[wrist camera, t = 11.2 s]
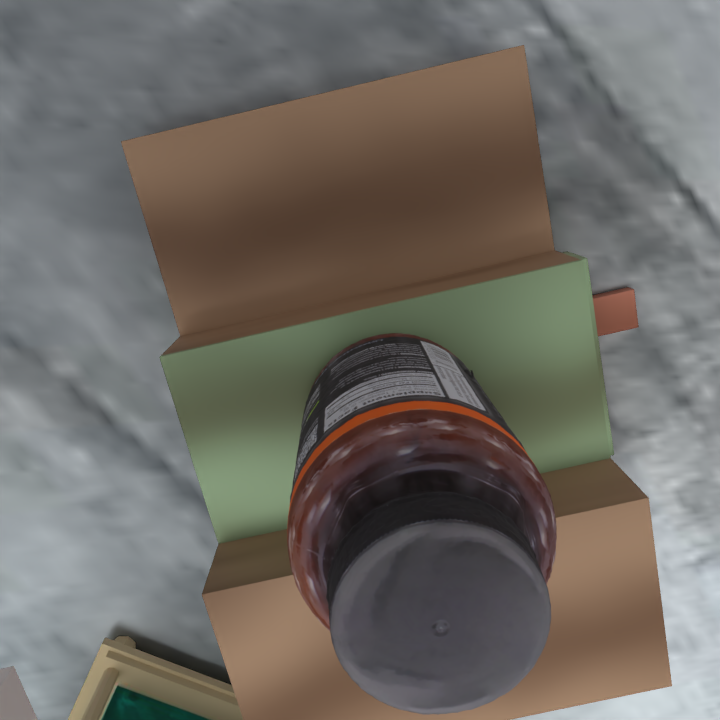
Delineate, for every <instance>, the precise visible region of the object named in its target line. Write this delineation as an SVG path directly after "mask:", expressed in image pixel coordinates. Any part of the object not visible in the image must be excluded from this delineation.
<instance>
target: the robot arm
mask: <svg viewBox="0 0 720 720" xmlns="http://www.w3.org/2000/svg"><path fill="white" fill-rule="evenodd" d="M0 720H37V717H36V715H35V713H34V711H33V708H32V706H31V704H30V702H29V699H28V697H27V695H26V693H25V690H24V688H23V686H22V684H21V681H20V679H19V677H18V675H17V672H16V670H15V668H14V666H11V667H7V668H2V669H0Z"/></svg>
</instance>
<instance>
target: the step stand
mask: <svg viewBox="0 0 720 720" xmlns="http://www.w3.org/2000/svg"><path fill="white" fill-rule="evenodd" d="M121 143H122V147H123V150H124V153H125V157H126V160H127V163H128V166H129V170H130V173H131V176H132V179H133V183H134V186H135V189H136V192H137V196H138V199H139V202H140V206H141V209H142V212H143V215H144V219H145V222H146V225H147V228H148V232H149V235H150V238H151V242H152V245H153V248H154V251H155V255H156V258H157V261H158V264H159V268H160V271H161V274H162V278H163V281H164V284H165V287H166V291H167V294H168V297H169V300H170V304H171V307H172V310H173V314H174V317H175V320H176V323H177V327H178V330H179V333H180V337H179V338H178V339H177V340H176V341H175V342H174V343H173V344H172V345H171V346H170V347H169V348H168V349H167V350H166V351H165V352H164V353H163V354H162V355H161V356H160V361H161V364H162V367H163V370H164V373H165V376H166V379H167V383H168V386H169V389H170V392H171V395H172V398H173V402H174V405H175V408H176V411H177V414H178V417H179V420H180V424H181V427H182V430H183V433H184V436H185V439H186V443H187V446H188V449H189V452H190V455H191V458H192V462H193V465H194V468H195V471H196V474H197V477H198V480H199V484H200V487H201V490H202V493H203V496H204V499H205V503H206V506H207V509H208V512H209V515H210V518H211V521H212V525H213V528H214V531H215V534H216V537H217V540H218V547H217V550H216V553H215V556H214V559H213V562H212V565H211V568H210V571H209V574H208V577H207V580H206V583H205V586H204V590H203V593H202V597H203V600H204V603H205V606H206V609H207V612H208V615H209V618H210V621H211V624H212V627H213V630H214V633H215V636H216V639H217V642H218V645H219V648H220V651H221V654H222V657H223V660H224V663H225V666H226V669H227V672H228V675H229V678H230V681H231V684H232V687H233V690H234V693H235V696H236V699H237V702H238V705H239V708H240V711H241V714H242V717H243V720H510V719H515V718H520V717H525V716H529V715H534V714H539V713H544V712H549V711H554V710H558V709H563V708H568V707H573V706H578V705H583V704H587V703H592V702H597V701H602V700H607V699H612V698H616V697H621V696H626V695H631V694H636V693H640V692H645V691H650V690H655V689H660V688H665V687H669V686H672V682H671V674H670V666H669V658H668V650H667V642H666V634H665V626H664V618H663V610H662V602H661V594H660V586H659V578H658V570H657V562H656V554H655V546H654V538H653V530H652V522H651V514H650V506H649V498H648V497H647V496H646V495H645V494H644V493H643V492H642V491H641V490H640V488H639V487H638V486H637V485H636V484H635V483H634V482H633V481H632V480H631V479H630V478H629V477H628V476H627V475H626V474H625V473H624V472H623V471H622V470H621V469H620V468H619V467H618V465H617V464H616V463H615V462H614V461H613V460H612V459H611V458H610V455H614V451H613V443H612V436H611V429H610V421H609V414H608V407H607V400H606V392H605V385H604V378H603V370H602V363H601V356H600V348H599V341H598V336H602V335H606V334H611V333H615V332H620V331H624V330H628V329H633V328H637V327H638V319H637V310H636V302H635V294H634V289H631V288H629V287H627V288H622V289H618V290H613V291H609V292H605V293H600V294H596V295H592V290H591V283H590V275H589V268H588V261H587V258H585V257H582V256H579V255H576V254H573V253H570V252H563V253H561V252H558V251H555V250H554V243H553V236H552V230H551V223H550V216H549V210H548V203H547V196H546V189H545V183H544V176H543V169H542V163H541V156H540V149H539V143H538V136H537V129H536V122H535V116H534V109H533V102H532V96H531V89H530V82H529V76H528V69H527V62H526V55H525V49H524V45H522V46H518V47H514V48H509V49H505V50H501V51H497V52H493V53H488V54H484V55H480V56H476V57H472V58H468V59H463V60H459V61H455V62H451V63H447V64H443V65H438V66H434V67H430V68H426V69H422V70H418V71H413V72H409V73H405V74H401V75H397V76H392V77H388V78H384V79H380V80H376V81H372V82H367V83H363V84H359V85H355V86H351V87H347V88H342V89H338V90H334V91H330V92H326V93H322V94H317V95H313V96H309V97H305V98H301V99H297V100H292V101H288V102H284V103H280V104H276V105H271V106H267V107H263V108H259V109H255V110H251V111H246V112H242V113H238V114H234V115H230V116H226V117H221V118H217V119H213V120H209V121H205V122H201V123H196V124H192V125H188V126H184V127H180V128H175V129H171V130H167V131H163V132H159V133H155V134H150V135H146V136H142V137H138V138H134V139H130V140H125V141H121ZM390 333H403V334H411V335H416V336H419V337H422V338H425V339H429V340H431V341H433V342H435V343H437V344H439V345H441V346H442V347H444V348H446V349H447V350H449V351H450V352H451V353H453V354H454V355H455V356H456V357H458V358H459V359H460V360H461V361H462V362H463V363H464V364H465V366H466V367H467V368H468V369H469V371H470V372H471V370H472V371H473V373H474V377H475V378H476V380H477V381H478V383H479V384H480V386H481V387H482V389H483V391H484V392H485V393H486V395H487V396H488V398H489V399H490V401H491V402H492V403H493V405H494V406H495V408H496V409H497V411H498V412H499V413H500V414H501V416H502V417H503V419H504V420H505V422H506V423H507V425H508V427H509V428H510V429H511V430H512V432H513V433H514V434H515V436H516V437H517V439H518V440H519V441H520V442H521V443H522V445H523V447H524V449H525V451H526V453H527V454H528V456H529V457H530V459H531V460H532V462H533V463H534V464H535V466H536V468H537V469H538V471H539V473H540V474H541V476H542V478H543V480H544V482H545V484H546V485H547V488H548V491H549V493H550V495H551V500H552V502H553V507H554V512H555V518H556V527H557V530H556V534H557V540H556V555H555V561H554V564H553V566H552V572H551V576H550V578H549V579H548V582H547V587H548V591H549V597H550V603H551V623H550V631H549V634H548V637H547V641H546V644H545V647H544V649H543V651H542V653H541V655H540V657H539V658H538V660H537V662H536V664H535V666H534V667H533V668H532V669H531V671H530V672H529V673H528V674H527V675H526V676H525V677H524V678H523V679H522V680H521V681H520V682H519V683H518V684H517V685H516V686H515V687H514V688H513V689H512V690H511V691H509V692H508V693H506V694H505V695H502V696H500V697H498V698H497V699H496V700H494V701H492V702H490V703H487V704H485V705H482V706H480V707H477V708H475V709H472V710H465V711H461V712H458V713H448V714H429V715H426V714H418V713H414V712H409V711H405V710H399V709H397V708H394V707H392V706H389V705H387V704H385V703H383V702H381V701H379V700H377V699H375V698H374V697H373V696H371V695H369V694H367V693H366V692H365V691H364V690H362V689H361V688H360V687H359V686H358V685H357V684H356V683H355V682H354V681H353V680H352V679H351V678H350V676H349V675H348V673H347V672H346V671H345V670H344V669H343V667H342V665H341V664H340V662H339V660H338V657H337V655H336V653H335V650H334V647H333V644H332V639H331V633H330V631H329V630H328V629H327V628H326V627H325V626H323V625H322V624H321V623H320V621H319V620H318V619H317V618H316V617H315V615H314V614H313V613H312V611H311V610H310V608H309V607H308V605H307V604H306V602H305V601H304V599H303V597H302V596H301V594H300V592H299V590H298V588H297V586H296V583H295V579H294V576H293V573H292V570H291V566H290V560H289V554H288V546H287V524H288V514H289V507H290V495H291V492H292V485H293V477H294V472H295V466H296V458H297V452H298V446H299V439H300V433H301V425H302V419H303V414H304V409H305V405H306V401H307V399H308V395H309V393H310V390H311V388H312V385H313V384H314V381H315V379H316V378H317V376H318V375H319V373H320V372H321V370H322V369H323V368H324V367H325V366H326V364H327V363H328V362H329V361H330V360H331V359H332V357H334V356H335V355H336V354H338V353H339V352H340V351H342V350H343V349H344V348H346V347H348V346H350V345H351V344H353V343H356V342H358V341H360V340H362V339H365V338H368V337H372V336H376V335H380V334H390Z"/></svg>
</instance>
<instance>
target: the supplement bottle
mask: <svg viewBox="0 0 720 720" xmlns="http://www.w3.org/2000/svg"><path fill="white" fill-rule="evenodd" d="M556 530H557V527H556V518H555V512H554V507H553V502H552V500H551V495H550V493H549V491H548V488H547V485H546V484H545V482H544V480H543V478H542V476H541V474H540V473H539V471H538V469H537V468H536V466H535V464H534V463H533V462H532V460H531V459H530V457H529V456H528V454H527V453H526V451H525V449H524V447H523V445H522V443H521V442H520V441H519V440H518V439H517V437H516V436H515V434H514V433H513V432H512V430H511V429H510V428H509V427H508V425H507V423H506V422H505V420H504V419H503V417H502V416H501V414H500V413H499V412H498V411H497V409H496V408H495V406H494V405H493V403H492V402H491V401H490V399H489V398H488V396H487V395H486V393H485V392H484V391H483V389H482V387H481V386H480V384H479V383H478V381H477V380H476V378H475V377H474V373H473V371H472V370H471V372H470V371H469V369H468V368H467V367H466V366H465V364H464V363H463V362H462V361H461V360H460V359H459V358H458V357H456V356H455V355H454V354H453V353H451V352H450V351H449V350H447V349H446V348H444V347H442V346H441V345H439V344H437V343H435V342H433V341H431V340H429V339H425V338H422V337H419V336H416V335H411V334H403V333H390V334H380V335H376V336H372V337H368V338H365V339H362V340H360V341H358V342H356V343H353V344H351V345H350V346H348V347H346V348H344V349H343V350H342V351H340V352H339V353H338V354H336V355H335V356H334V357H332V359H331V360H330V361H329V362H328V363H327V364H326V366H325V367H324V368H323V369H322V370H321V372H320V373H319V375H318V376H317V378H316V379H315V381H314V384H313V385H312V388H311V390H310V393H309V395H308V399H307V401H306V405H305V409H304V414H303V419H302V425H301V433H300V439H299V446H298V452H297V458H296V466H295V472H294V477H293V485H292V492H291V495H290V507H289V514H288V524H287V546H288V554H289V560H290V566H291V570H292V573H293V576H294V579H295V583H296V586H297V588H298V590H299V592H300V594H301V596H302V597H303V599H304V601H305V602H306V604H307V605H308V607H309V608H310V610H311V611H312V613H313V614H314V615H315V617H316V618H317V619H318V620H319V621H320V623H321V624H322V625H323V626H325V627H326V628H327V629H328V630H329V631H330V633H331V639H332V644H333V647H334V650H335V653H336V655H337V657H338V660H339V662H340V664H341V665H342V667H343V669H344V670H345V671H346V672H347V673H348V675H349V676H350V678H351V679H352V680H353V681H354V682H355V683H356V684H357V685H358V686H359V687H360V688H361V689H362V690H364V691H365V692H366V693H367V694H369V695H371V696H373V697H374V698H375V699H377V700H379V701H381V702H383V703H385V704H387V705H389V706H392V707H394V708H397V709H399V710H405V711H409V712H414V713H418V714H426V715H429V714H448V713H458V712H461V711H465V710H472V709H475V708H477V707H480V706H482V705H485V704H487V703H490V702H492V701H494V700H496V699H497V698H498V697H500V696H502V695H505V694H506V693H508V692H509V691H511V690H512V689H513V688H514V687H515V686H516V685H517V684H518V683H519V682H520V681H521V680H522V679H523V678H524V677H525V676H526V675H527V674H528V673H529V672H530V671H531V669H532V668H533V667H534V666H535V664H536V662H537V660H538V658H539V657H540V655H541V653H542V651H543V649H544V647H545V644H546V641H547V637H548V634H549V631H550V623H551V603H550V597H549V591H548V587H547V582H548V579H549V578H550V576H551V572H552V566H553V564H554V561H555V555H556V540H557V534H556Z"/></svg>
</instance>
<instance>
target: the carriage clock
mask: <svg viewBox="0 0 720 720" xmlns="http://www.w3.org/2000/svg"><path fill="white" fill-rule="evenodd" d="M68 720H243V717H242V714H241V711H240V708H239V705H238V702H237V699H236V696H235V693H234V690H233V687H232V685H230V684H227V683H225V682H222V681H219V680H217V679H214V678H211V677H209V676H206V675H203V674H201V673H198V672H195V671H193V670H190V669H187V668H185V667H182V666H180V665H177V664H174V663H172V662H169V661H166V660H164V659H161V658H158V657H156V656H153V655H150V654H148V653H145V652H143V651H140V650H137V649H136V642H135V641H133V640H132V639H131V638H130V637H129V636H118V637H117V638H116V639H115V640H111V639H108V638H105V639H104V641H103V643H102V645H101V647H100V649H99V651H98V654H97V656H96V658H95V660H94V662H93V665H92V667H91V669H90V671H89V673H88V676H87V678H86V680H85V682H84V685H83V687H82V689H81V691H80V693H79V696H78V698H77V700H76V702H75V704H74V707H73V709H72V711H71V713H70V715H69V718H68Z"/></svg>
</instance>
